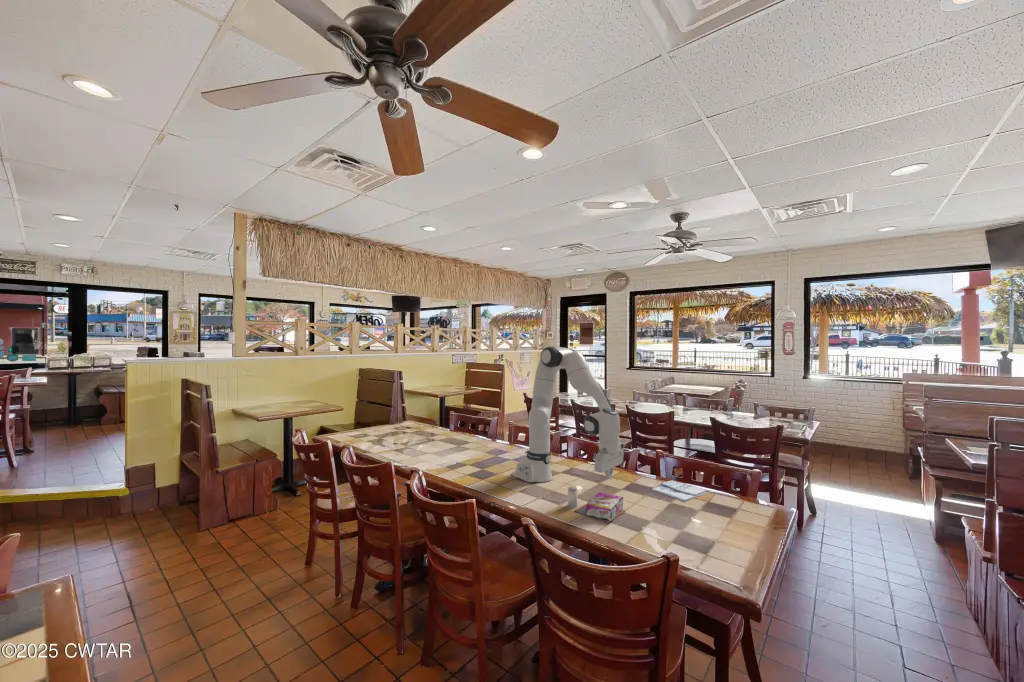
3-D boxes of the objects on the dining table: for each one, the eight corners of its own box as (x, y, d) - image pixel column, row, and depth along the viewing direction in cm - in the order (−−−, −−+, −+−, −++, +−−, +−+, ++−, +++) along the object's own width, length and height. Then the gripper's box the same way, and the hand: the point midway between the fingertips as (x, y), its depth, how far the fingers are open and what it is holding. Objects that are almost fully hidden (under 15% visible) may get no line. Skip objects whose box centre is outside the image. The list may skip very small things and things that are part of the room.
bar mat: (574, 511, 173) (574, 510, 173) (592, 501, 184) (592, 500, 184) (608, 523, 162) (608, 521, 162) (625, 511, 173) (625, 510, 173)
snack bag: (707, 494, 196) (707, 489, 196) (683, 503, 185) (683, 498, 185) (672, 482, 212) (672, 478, 212) (648, 490, 201) (648, 486, 201)
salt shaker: (565, 505, 178) (566, 488, 178) (570, 503, 181) (571, 485, 181) (573, 508, 176) (573, 490, 176) (578, 505, 179) (578, 488, 179)
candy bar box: (623, 496, 176) (612, 509, 162) (623, 507, 176) (612, 521, 162) (598, 491, 182) (585, 503, 168) (598, 502, 182) (585, 515, 168)
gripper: (604, 452, 169) (603, 485, 169) (626, 443, 184) (625, 474, 184) (591, 449, 173) (590, 481, 173) (613, 441, 188) (613, 470, 188)
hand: (608, 477), depth 179 cm, fingers closed
